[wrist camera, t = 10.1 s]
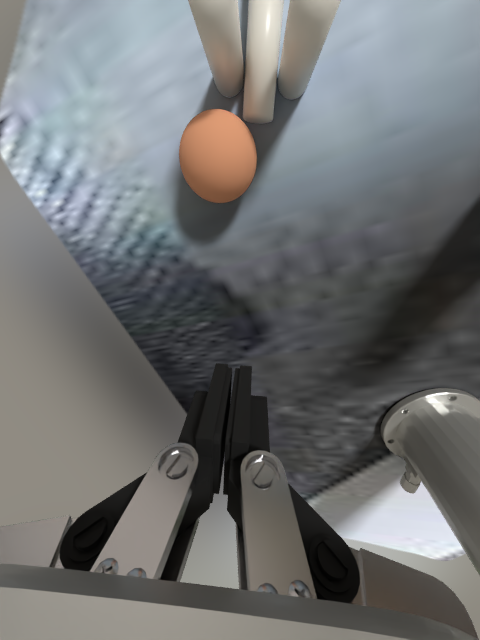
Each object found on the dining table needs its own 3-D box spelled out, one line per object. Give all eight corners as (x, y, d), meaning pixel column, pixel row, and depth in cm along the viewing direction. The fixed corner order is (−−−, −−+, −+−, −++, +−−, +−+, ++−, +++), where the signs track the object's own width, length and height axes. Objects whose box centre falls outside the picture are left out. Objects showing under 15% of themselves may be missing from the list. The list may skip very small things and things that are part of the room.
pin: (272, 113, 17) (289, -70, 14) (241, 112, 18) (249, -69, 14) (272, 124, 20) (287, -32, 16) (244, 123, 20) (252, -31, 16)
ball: (258, 96, 17) (274, 185, 20) (197, 129, 20) (219, 202, 23) (217, 85, 13) (245, 200, 16) (148, 128, 16) (182, 217, 19)
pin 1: (243, 97, 19) (234, 18, 11) (214, 96, 19) (185, 17, 11) (245, 57, 18) (236, -61, 10) (214, 56, 18) (182, -62, 10)
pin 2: (305, 100, 19) (339, 22, 11) (275, 99, 19) (289, 19, 11) (311, 59, 18) (353, -59, 10) (279, 58, 18) (297, -60, 10)
